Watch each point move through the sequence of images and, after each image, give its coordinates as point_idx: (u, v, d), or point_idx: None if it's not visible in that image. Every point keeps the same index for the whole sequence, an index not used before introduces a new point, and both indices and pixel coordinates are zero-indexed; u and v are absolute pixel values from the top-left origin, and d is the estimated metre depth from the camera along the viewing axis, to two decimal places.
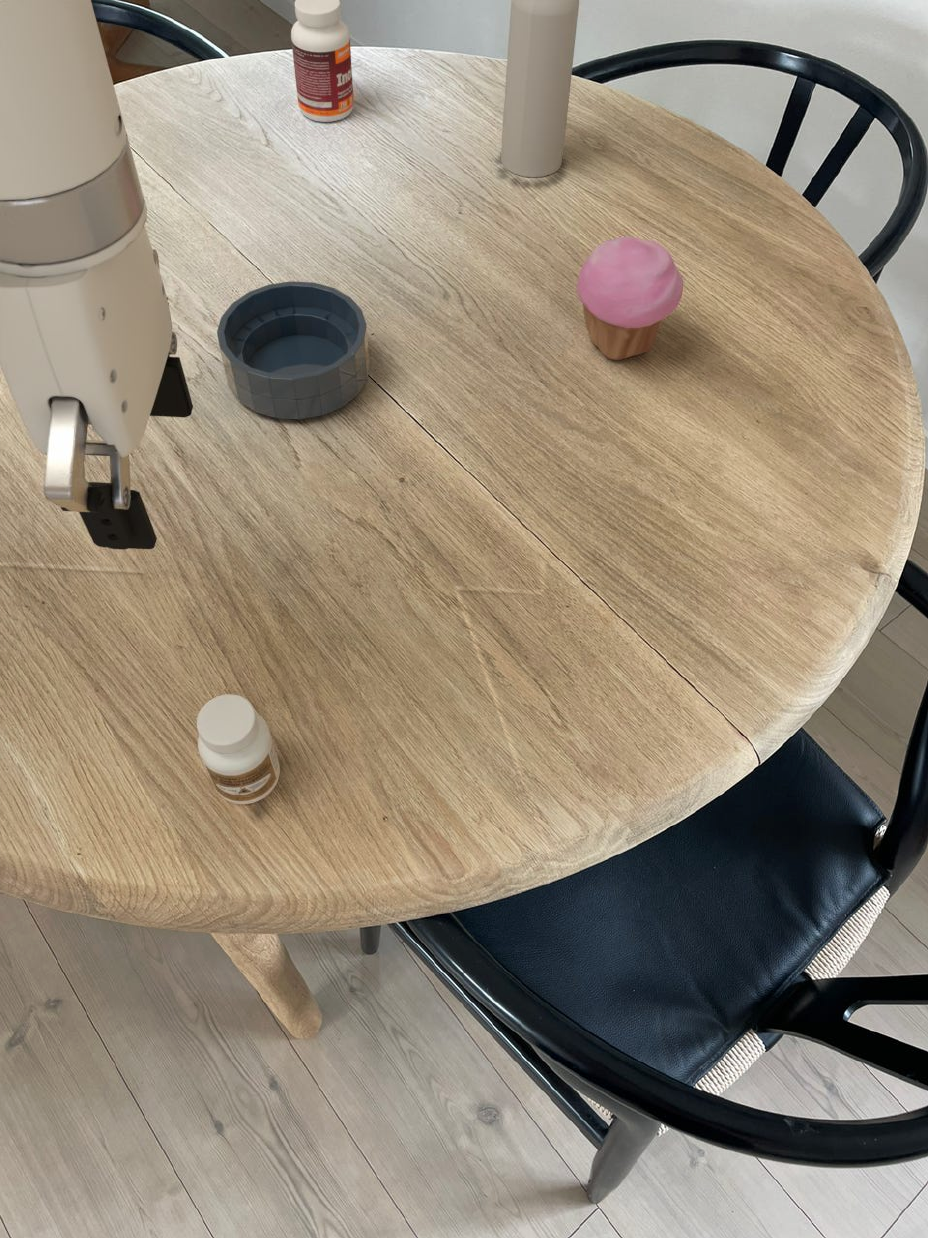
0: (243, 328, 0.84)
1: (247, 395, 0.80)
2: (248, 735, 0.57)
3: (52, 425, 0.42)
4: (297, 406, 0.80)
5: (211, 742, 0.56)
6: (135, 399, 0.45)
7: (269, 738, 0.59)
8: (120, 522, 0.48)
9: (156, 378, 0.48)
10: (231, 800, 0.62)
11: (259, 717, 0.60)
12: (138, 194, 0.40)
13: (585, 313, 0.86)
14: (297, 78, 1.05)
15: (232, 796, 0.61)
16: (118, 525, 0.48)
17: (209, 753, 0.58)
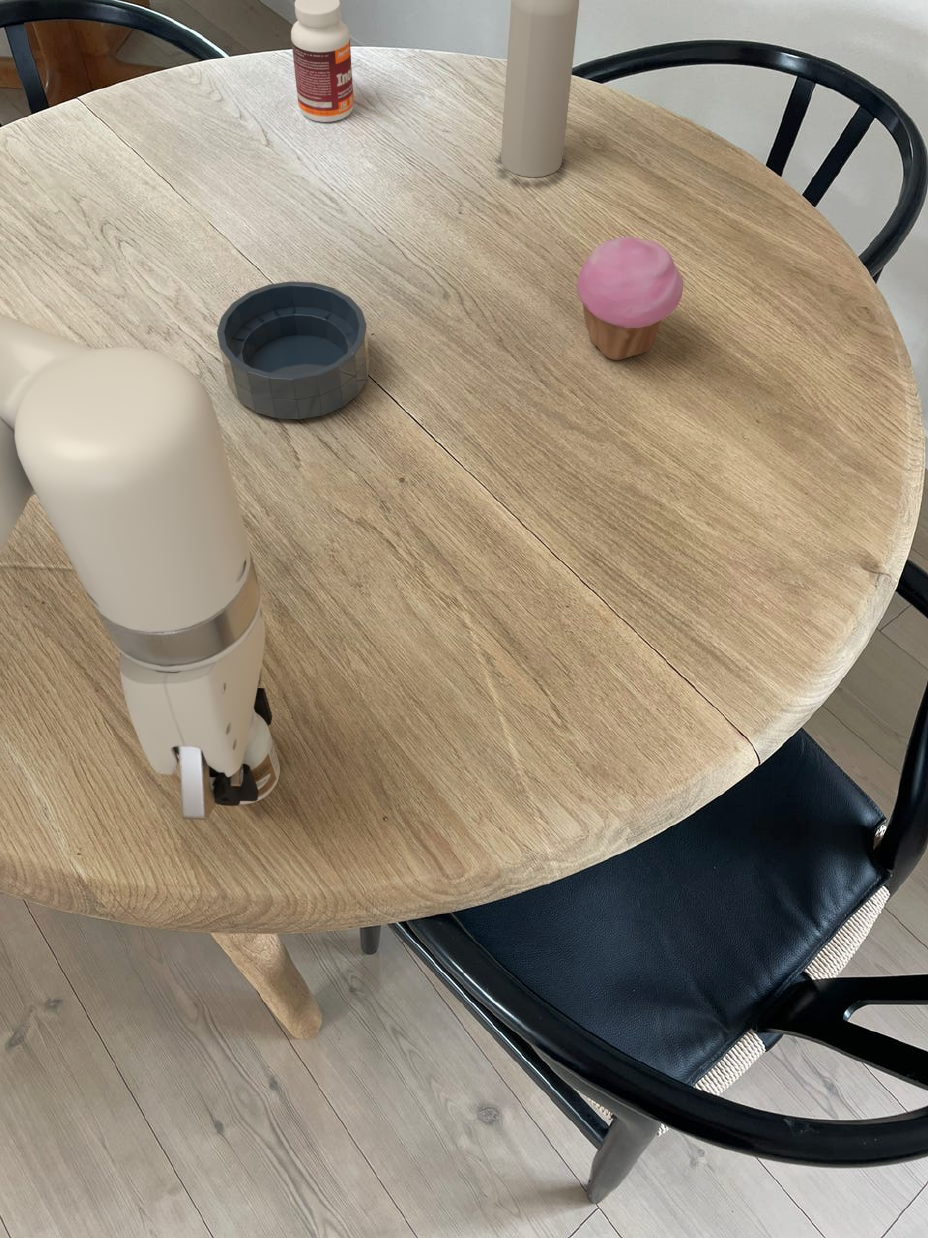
0: (243, 328, 0.84)
1: (247, 395, 0.80)
2: (248, 735, 0.57)
3: (182, 770, 0.50)
4: (297, 406, 0.80)
5: None
6: (241, 731, 0.52)
7: (269, 738, 0.59)
8: (233, 791, 0.57)
9: (255, 694, 0.55)
10: None
11: (259, 717, 0.60)
12: (257, 591, 0.47)
13: (585, 313, 0.86)
14: (297, 78, 1.05)
15: None
16: (231, 793, 0.57)
17: None
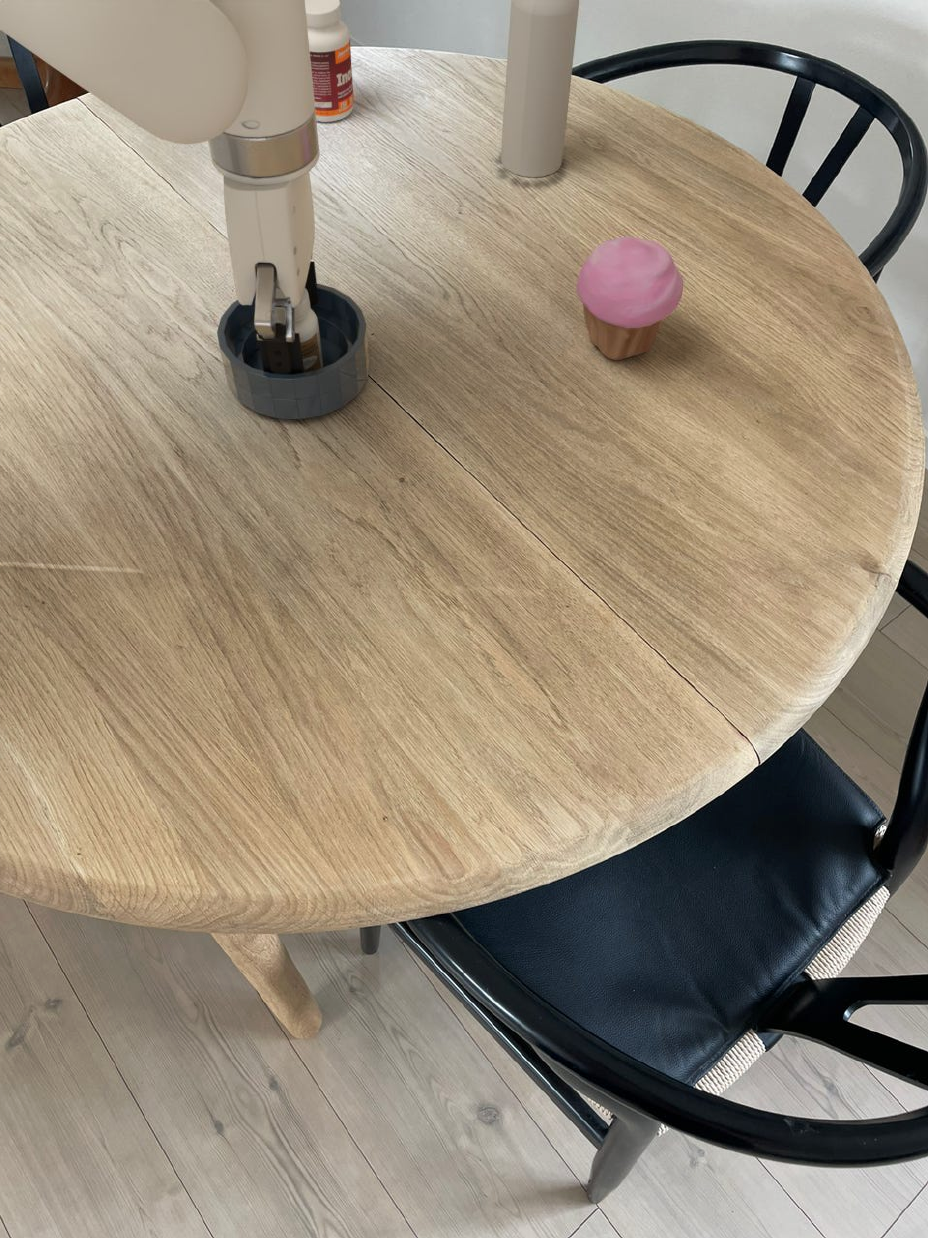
0: (243, 328, 0.84)
1: (247, 395, 0.80)
2: (303, 304, 0.78)
3: (258, 282, 0.70)
4: (297, 406, 0.80)
5: (276, 307, 0.77)
6: (302, 269, 0.72)
7: (317, 321, 0.80)
8: (286, 353, 0.76)
9: (309, 261, 0.75)
10: None
11: (309, 307, 0.81)
12: (317, 138, 0.67)
13: (585, 313, 0.86)
14: None
15: None
16: (285, 355, 0.76)
17: None
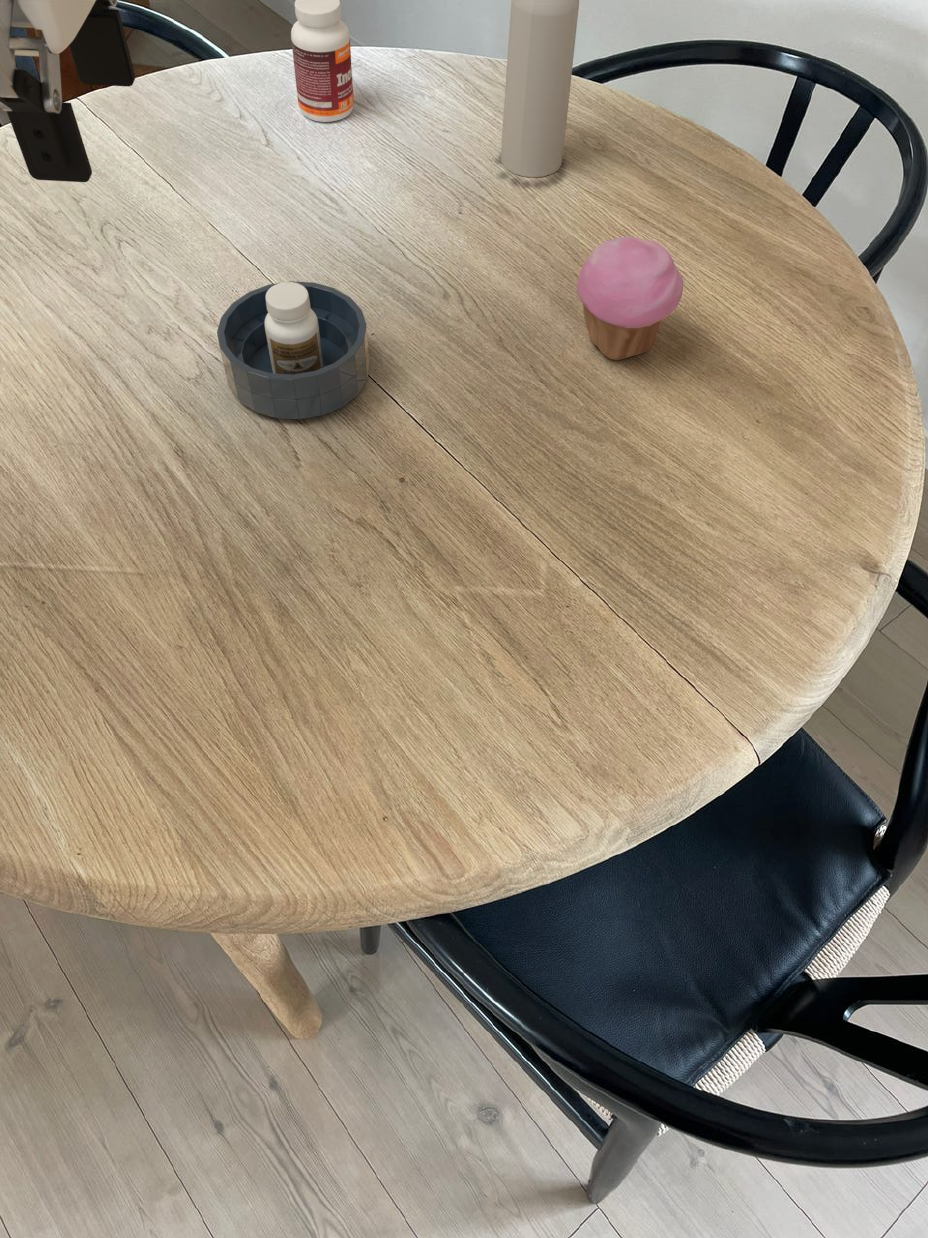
0: (243, 328, 0.84)
1: (247, 395, 0.80)
2: (303, 304, 0.78)
3: None
4: (297, 406, 0.80)
5: (276, 307, 0.77)
6: None
7: (317, 321, 0.80)
8: (52, 134, 0.49)
9: None
10: None
11: (309, 307, 0.81)
12: None
13: (585, 313, 0.86)
14: (297, 78, 1.05)
15: None
16: (50, 138, 0.49)
17: (274, 325, 0.79)
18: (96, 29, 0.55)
